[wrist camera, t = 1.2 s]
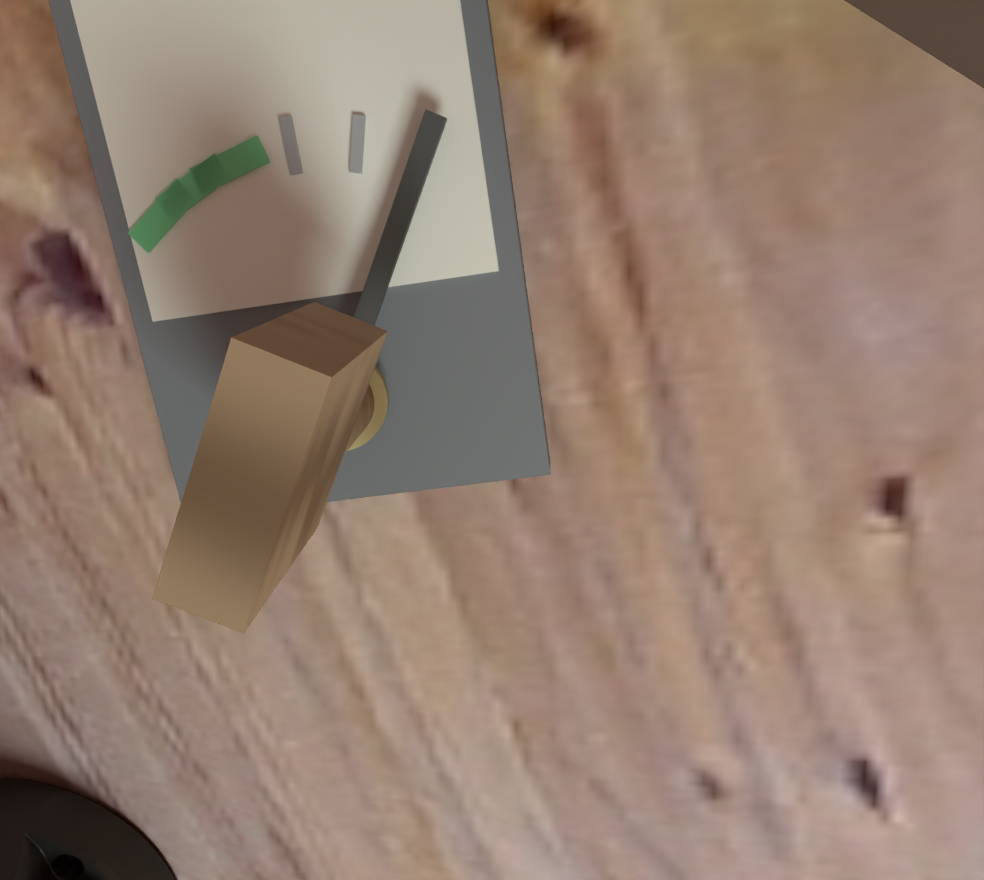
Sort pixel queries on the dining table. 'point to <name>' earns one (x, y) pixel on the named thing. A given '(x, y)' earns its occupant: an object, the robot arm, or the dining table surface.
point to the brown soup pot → (937, 29)
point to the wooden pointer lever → (284, 433)
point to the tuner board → (315, 211)
